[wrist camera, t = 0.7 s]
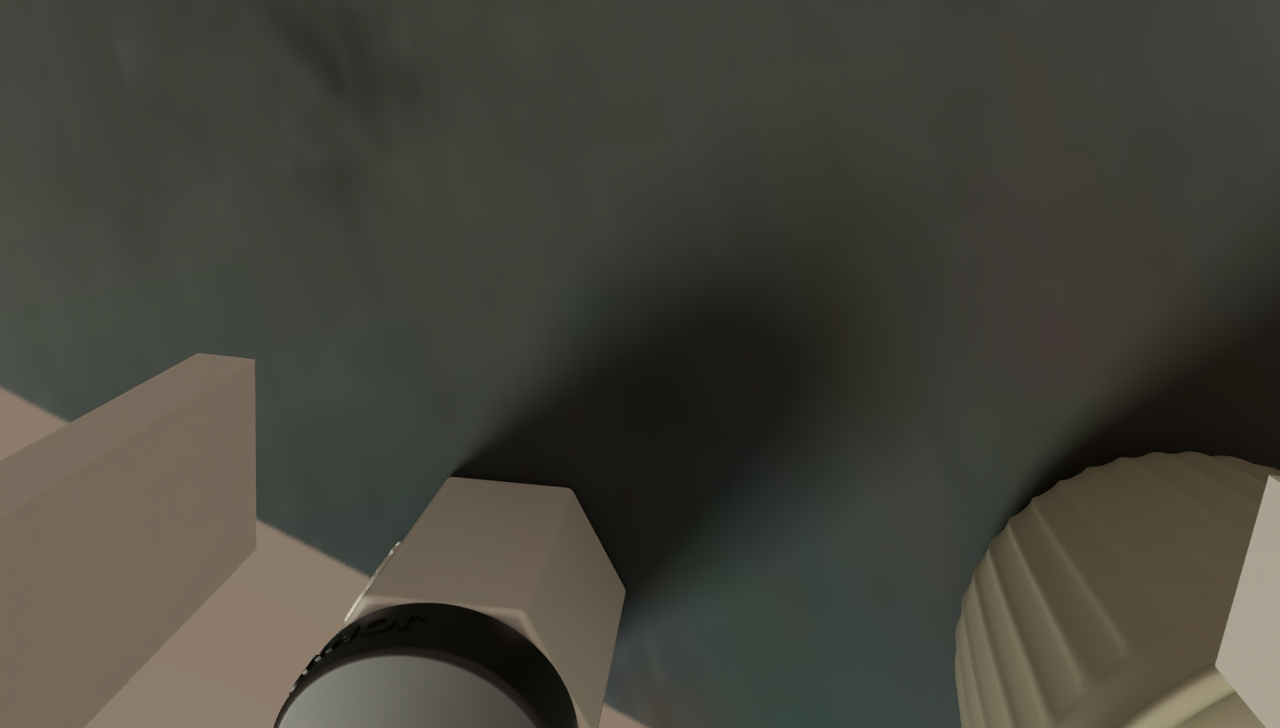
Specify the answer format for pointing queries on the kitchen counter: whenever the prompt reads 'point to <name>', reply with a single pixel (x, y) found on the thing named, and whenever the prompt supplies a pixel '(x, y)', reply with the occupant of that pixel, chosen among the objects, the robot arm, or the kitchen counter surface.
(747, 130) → the kitchen counter surface
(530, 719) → the jar
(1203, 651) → the canister
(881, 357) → the kitchen counter surface
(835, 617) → the kitchen counter surface
